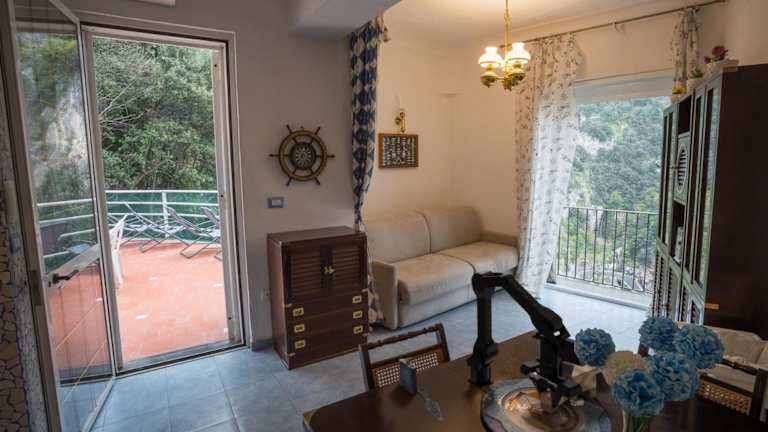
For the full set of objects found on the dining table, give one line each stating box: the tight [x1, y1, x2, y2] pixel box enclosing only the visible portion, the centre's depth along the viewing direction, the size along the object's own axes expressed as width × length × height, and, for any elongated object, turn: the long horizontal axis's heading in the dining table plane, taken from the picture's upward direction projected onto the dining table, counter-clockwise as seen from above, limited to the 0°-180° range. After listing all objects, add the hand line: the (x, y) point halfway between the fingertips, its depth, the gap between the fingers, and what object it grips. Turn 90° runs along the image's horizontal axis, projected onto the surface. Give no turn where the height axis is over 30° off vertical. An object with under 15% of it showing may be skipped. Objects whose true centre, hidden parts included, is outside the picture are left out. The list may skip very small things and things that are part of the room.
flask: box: [398, 357, 419, 395], centre depth 140 cm, size 9×3×11 cm, turn 30°
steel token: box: [569, 395, 585, 407], centre depth 127 cm, size 4×4×1 cm
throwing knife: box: [417, 387, 443, 422], centre depth 130 cm, size 4×20×1 cm, turn 14°
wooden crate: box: [534, 357, 598, 400], centre depth 133 cm, size 12×15×10 cm
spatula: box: [540, 387, 570, 414], centre depth 127 cm, size 16×4×5 cm, turn 125°
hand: (549, 404), depth 123 cm, fingers closed on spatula, 4 cm apart
